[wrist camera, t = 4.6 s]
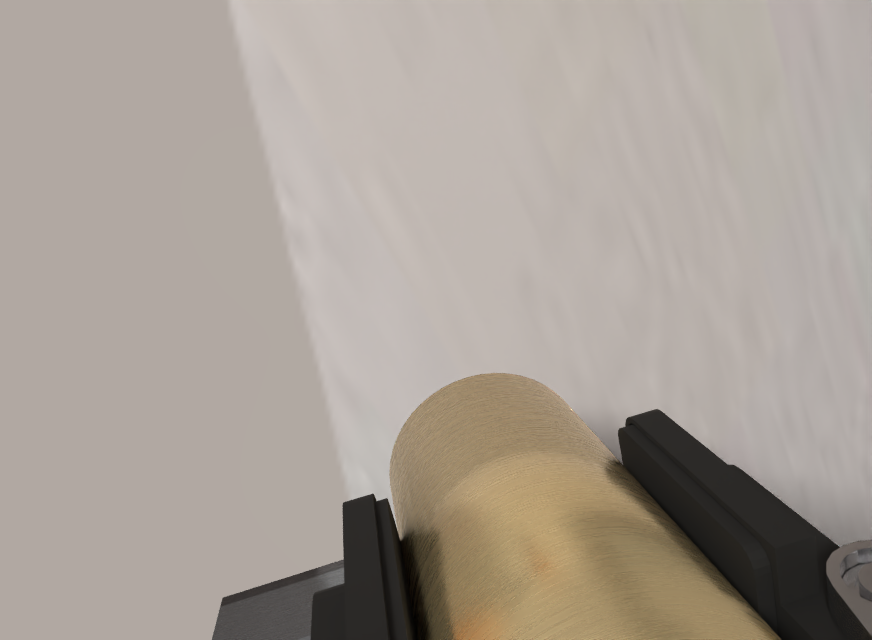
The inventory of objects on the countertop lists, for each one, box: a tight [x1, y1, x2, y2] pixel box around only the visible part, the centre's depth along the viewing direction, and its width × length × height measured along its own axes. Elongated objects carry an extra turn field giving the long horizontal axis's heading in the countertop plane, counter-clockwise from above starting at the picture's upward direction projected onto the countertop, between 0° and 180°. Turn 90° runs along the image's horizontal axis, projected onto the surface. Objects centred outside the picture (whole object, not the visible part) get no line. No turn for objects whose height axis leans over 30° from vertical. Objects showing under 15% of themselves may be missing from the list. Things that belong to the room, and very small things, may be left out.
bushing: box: [390, 373, 781, 640], centre depth 9 cm, size 4×4×9 cm
